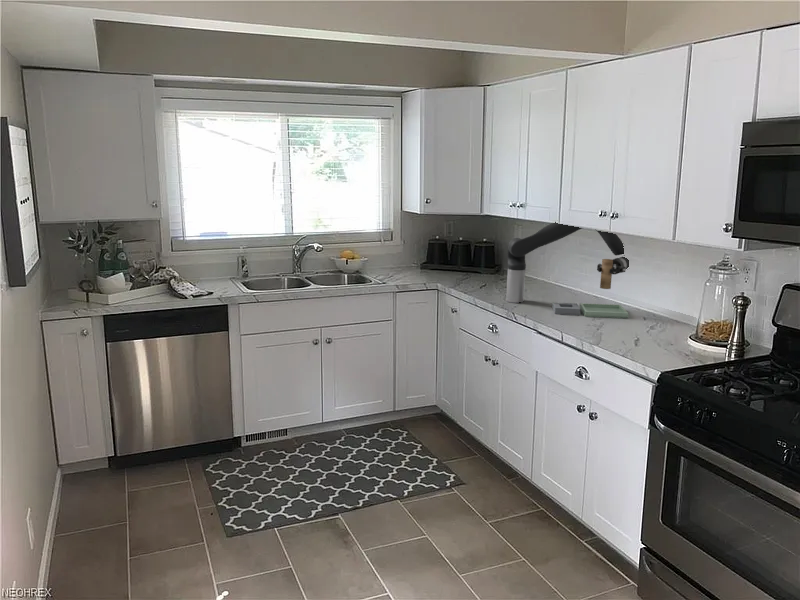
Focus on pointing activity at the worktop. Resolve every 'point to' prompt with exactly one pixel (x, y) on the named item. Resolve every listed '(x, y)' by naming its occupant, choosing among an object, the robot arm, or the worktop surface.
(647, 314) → the worktop surface
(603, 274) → the dowel
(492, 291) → the worktop surface
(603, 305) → the tray
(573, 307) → the socket block
